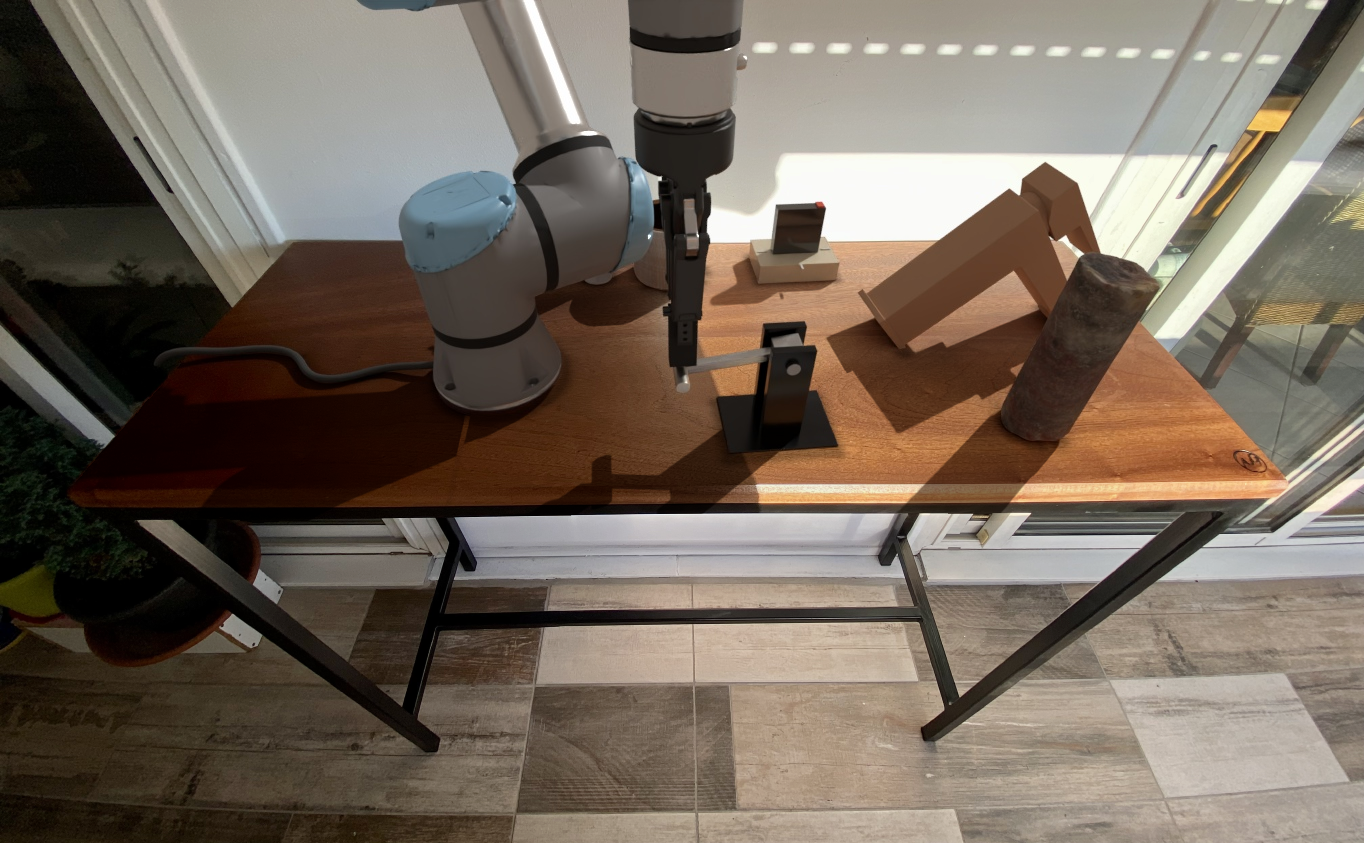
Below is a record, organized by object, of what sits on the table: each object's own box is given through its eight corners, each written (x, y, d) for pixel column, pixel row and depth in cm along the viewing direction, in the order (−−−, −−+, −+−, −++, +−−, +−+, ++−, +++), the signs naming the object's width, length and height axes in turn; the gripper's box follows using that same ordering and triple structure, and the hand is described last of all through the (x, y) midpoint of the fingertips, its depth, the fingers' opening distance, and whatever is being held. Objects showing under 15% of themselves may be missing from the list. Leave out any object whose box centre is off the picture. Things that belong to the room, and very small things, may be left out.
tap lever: (677, 398, 59) (674, 380, 58) (672, 360, 64) (668, 342, 62) (807, 376, 59) (808, 358, 57) (793, 340, 63) (793, 321, 62)
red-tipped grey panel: (772, 254, 90) (778, 208, 85) (770, 248, 91) (775, 202, 86) (817, 252, 90) (826, 206, 85) (814, 246, 92) (823, 201, 86)
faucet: (947, 410, 88) (1120, 303, 78) (879, 323, 73) (1080, 181, 64) (925, 379, 93) (1085, 275, 83) (857, 292, 78) (1040, 156, 69)
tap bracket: (728, 460, 64) (737, 369, 55) (716, 403, 71) (722, 313, 62) (836, 452, 65) (862, 361, 56) (815, 397, 72) (835, 307, 63)
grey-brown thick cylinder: (1002, 392, 73) (1081, 241, 59) (1068, 412, 70) (1166, 259, 56) (993, 432, 68) (1077, 278, 54) (1064, 454, 65) (1171, 299, 51)
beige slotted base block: (760, 289, 88) (762, 270, 86) (746, 251, 96) (748, 233, 94) (838, 285, 89) (843, 267, 87) (819, 248, 97) (822, 230, 95)
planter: (717, 266, 93) (720, 207, 86) (685, 300, 86) (686, 239, 79) (656, 249, 97) (655, 191, 90) (621, 281, 90) (616, 221, 83)
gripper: (752, 139, 39) (729, 403, 55) (722, 80, 48) (710, 322, 65) (637, 142, 38) (649, 408, 55) (629, 82, 48) (641, 325, 64)
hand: (682, 361), depth 60 cm, fingers closed
